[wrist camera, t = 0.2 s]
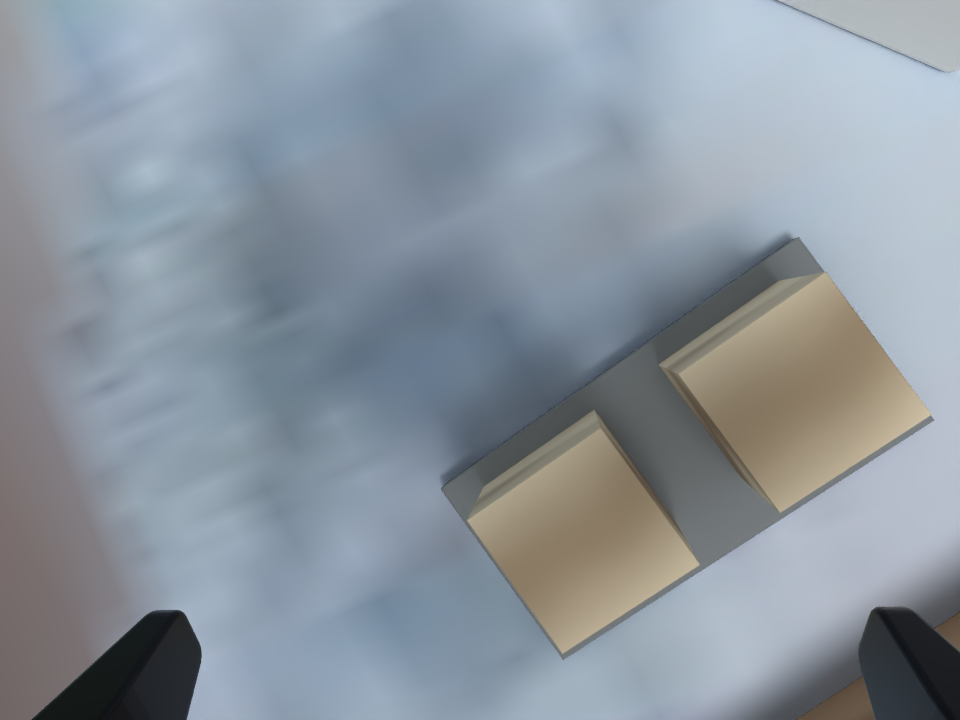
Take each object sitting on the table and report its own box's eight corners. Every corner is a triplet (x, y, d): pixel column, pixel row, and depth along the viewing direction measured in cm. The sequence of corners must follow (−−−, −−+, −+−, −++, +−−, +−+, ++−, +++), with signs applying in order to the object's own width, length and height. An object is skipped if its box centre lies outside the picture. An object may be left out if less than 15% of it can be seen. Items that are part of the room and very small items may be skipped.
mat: (924, 417, 22) (934, 420, 22) (563, 651, 24) (563, 659, 23) (792, 239, 22) (798, 237, 22) (443, 485, 24) (440, 489, 24)
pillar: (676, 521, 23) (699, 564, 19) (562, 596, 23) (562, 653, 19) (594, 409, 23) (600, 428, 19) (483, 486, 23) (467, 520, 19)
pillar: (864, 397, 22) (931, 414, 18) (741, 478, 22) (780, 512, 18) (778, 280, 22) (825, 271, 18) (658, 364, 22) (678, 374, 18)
